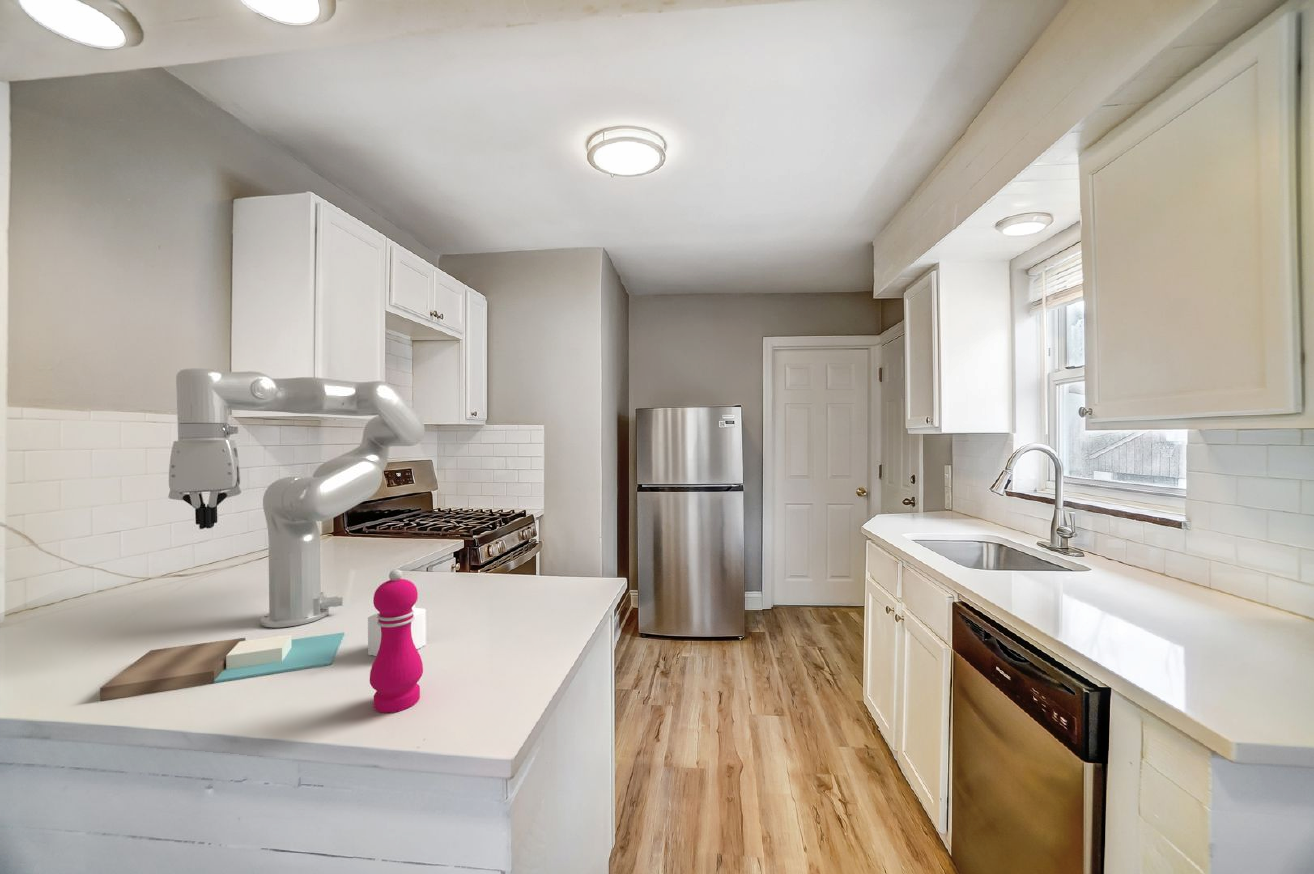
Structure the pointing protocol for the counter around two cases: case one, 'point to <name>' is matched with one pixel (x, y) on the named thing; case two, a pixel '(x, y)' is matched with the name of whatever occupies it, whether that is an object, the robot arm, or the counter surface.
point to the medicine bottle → (416, 630)
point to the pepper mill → (396, 647)
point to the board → (170, 669)
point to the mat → (292, 658)
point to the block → (258, 652)
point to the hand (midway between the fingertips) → (206, 527)
